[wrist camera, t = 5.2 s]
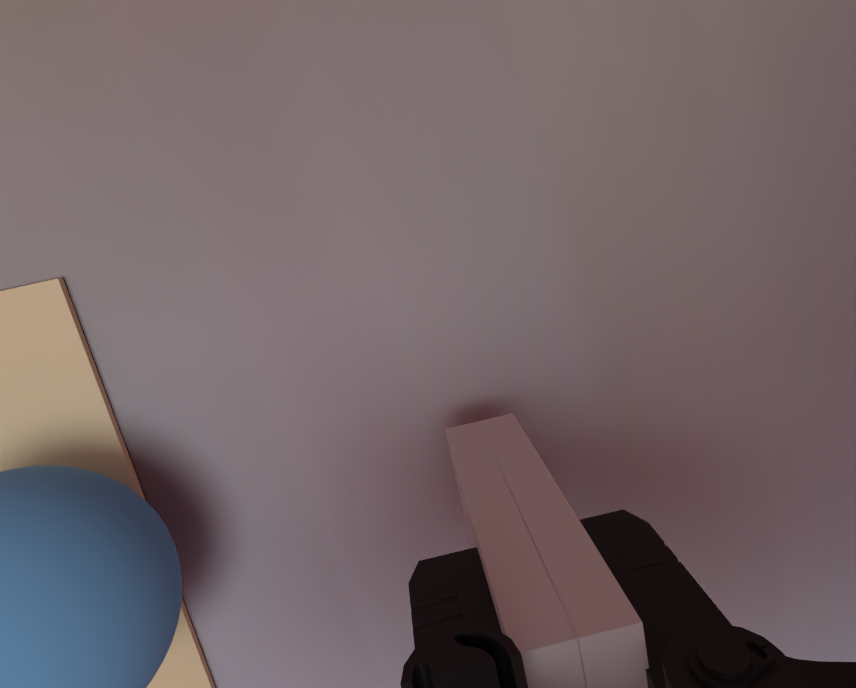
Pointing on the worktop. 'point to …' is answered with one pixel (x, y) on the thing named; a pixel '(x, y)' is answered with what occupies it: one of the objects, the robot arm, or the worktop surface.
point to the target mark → (70, 423)
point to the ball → (83, 581)
